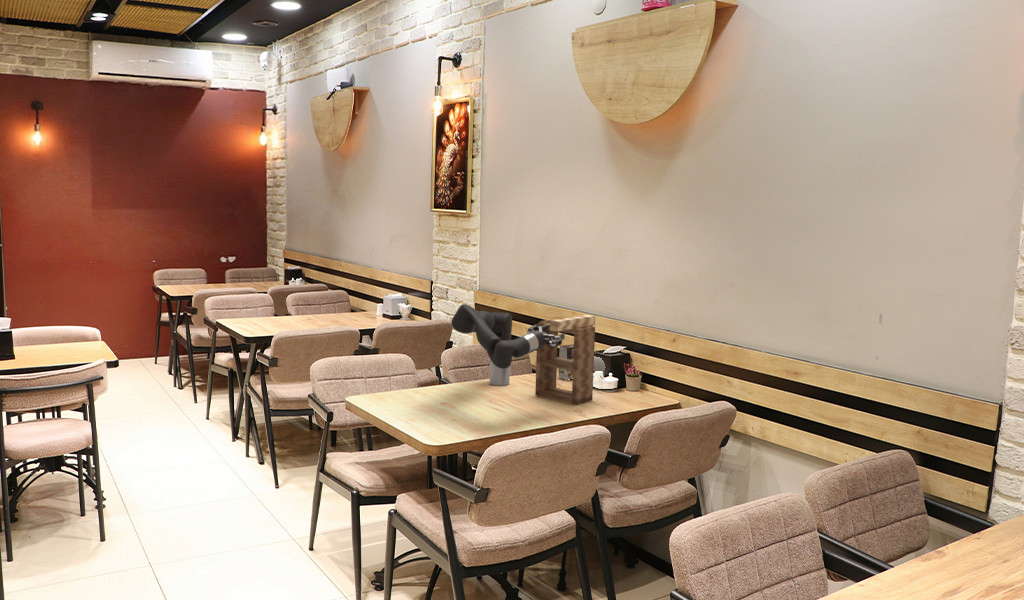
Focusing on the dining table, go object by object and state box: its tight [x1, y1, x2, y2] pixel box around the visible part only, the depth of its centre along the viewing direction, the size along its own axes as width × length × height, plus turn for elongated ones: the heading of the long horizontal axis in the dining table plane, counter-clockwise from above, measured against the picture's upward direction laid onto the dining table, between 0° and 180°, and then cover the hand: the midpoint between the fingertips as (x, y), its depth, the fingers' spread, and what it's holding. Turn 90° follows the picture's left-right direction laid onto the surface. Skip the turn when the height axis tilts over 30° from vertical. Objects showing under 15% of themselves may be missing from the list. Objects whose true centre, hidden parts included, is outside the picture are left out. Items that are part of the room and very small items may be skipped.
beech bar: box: [550, 314, 596, 333], centre depth 333 cm, size 26×4×4 cm, turn 138°
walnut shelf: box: [534, 318, 596, 406], centre depth 342 cm, size 12×22×33 cm, turn 48°
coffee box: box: [557, 343, 574, 381], centre depth 380 cm, size 9×6×16 cm
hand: (555, 331), depth 323 cm, fingers open, 8 cm apart
